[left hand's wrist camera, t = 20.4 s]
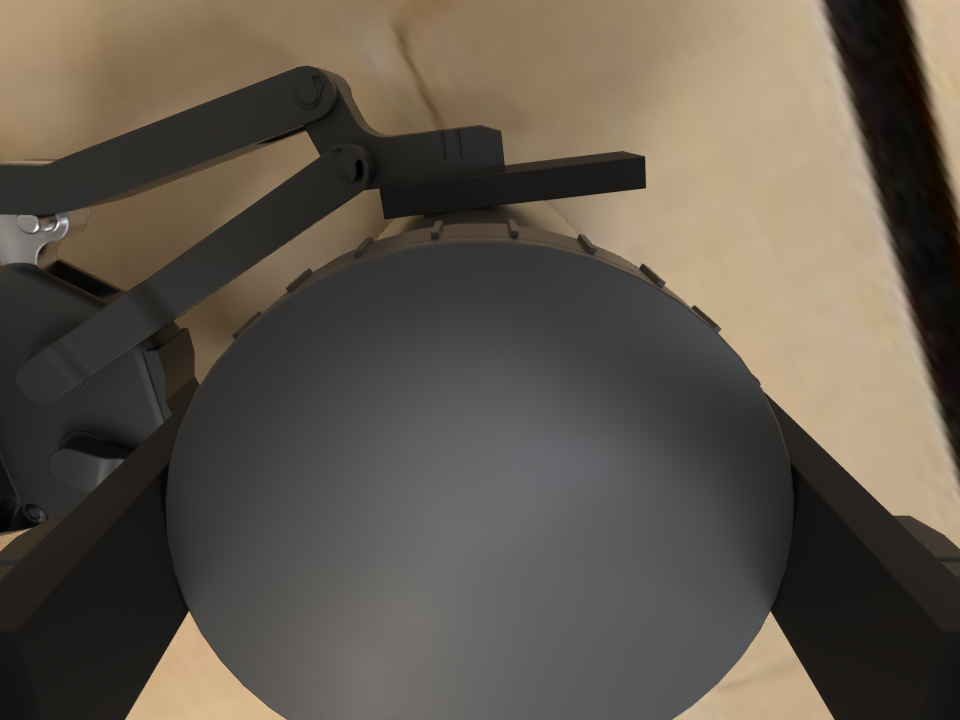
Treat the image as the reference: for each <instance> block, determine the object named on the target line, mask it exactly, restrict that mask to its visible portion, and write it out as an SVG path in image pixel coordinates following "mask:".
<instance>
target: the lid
mask: <svg viewBox="0 0 960 720" xmlns="http://www.w3.org/2000/svg"><path fill="white" fill-rule="evenodd" d="M665 283H666V282H665V281H663V280H662V279H661V278H660V277H659V276H658V275H657V274H656V273H654V272H653V271H652V270H651V269H650V268H649V267H648V266H646V265H644V264H642V265H641V266H640V268H639V267H637V266H635V265H633V264H632V263H630V262H628V261H627V260H625V259H623V258H622V257H620V256H618V255H616V254H614V253H611V252H609V251H607V250H604V249H602V248H599V247H597V246H595V245H593V244H592V243H591V242H590V241H589V240H588V239H587V238H586V236H584V235H581V234H579V235H578V238H573V237H569V236H565V235H562V234H558V233H554V232H550V231H547V230H543V229H538V228H530V227H522V226H517V225H516V222H515V220H510V219H509V220H508V225H506V224H452V225H445V226H443V224H442V220H441V221H435V223H434V226H433V227H430V228H423V229H416V230H412V231H409V232H405V233H402V234H398V235H394V236H391V237H387V238H384V239H380V240H376V241H373V239H372V237H370V238H368V239H366V240H365V241H364V242H363V243H362V244H361V245H360V246H359V247H358V248H357V249H356V250H353V251H351V252H349V253H346V254H344V255H342V256H339V257H338V258H336V259H334V260H333V261H331V262H329V263H328V264H326V265H325V266H323V267H321V268H320V269H318V270H316V271H315V272H313V273H312V271H311V270H310V269H308V270H306V271H305V272H303V273H302V274H301V275H300V276H299V277H298V278H297V279H295V280H294V281H293V282H292V283H291V284H290V285H289V286H288V287H286V290H287V291H288V292H287V293H285V294H284V295H283V296H282V297H281V298H279V299H278V300H277V301H276V302H275V303H274V304H272V305H271V306H270V307H269V308H268V309H267V310H266V311H265V312H264V313H260V312H258V313H257V314H255V315H254V316H253V317H252V318H251V319H250V320H249V321H247V322H246V323H245V324H244V325H243V326H242V327H241V328H240V329H238V330H237V331H236V332H235V333H234V334H233V336H232V337H233V338H234V339H236V340H235V341H234V342H233V343H232V344H231V345H230V346H229V347H228V349H227V350H226V351H225V352H224V353H223V354H222V355H221V356H220V357H219V359H218V360H217V361H216V362H215V364H214V365H213V367H212V369H211V370H210V372H209V373H208V375H207V376H206V378H205V379H204V381H203V382H202V383H201V384H200V385H199V386H198V387H197V389H196V391H195V395H194V397H193V399H192V401H191V403H190V405H189V408H188V410H187V412H186V414H185V416H184V419H183V421H182V423H181V425H180V427H179V430H178V434H177V437H176V441H175V445H174V448H173V452H172V456H171V459H170V463H169V469H168V478H167V487H166V496H165V513H166V534H167V539H168V545H169V550H170V555H171V560H172V565H173V570H174V574H175V576H176V579H177V582H178V585H179V587H180V590H181V593H182V596H183V599H184V601H185V604H186V606H187V608H188V609H189V611H190V613H191V615H192V617H193V619H194V621H195V623H196V625H197V626H198V628H199V630H200V632H201V634H202V635H203V637H204V638H205V639H206V641H207V642H208V644H209V645H210V646H211V648H212V649H213V651H214V652H215V653H216V655H217V656H218V658H219V659H220V660H221V662H222V663H223V664H224V665H225V666H226V667H227V668H228V669H229V670H230V671H231V672H232V673H233V675H234V676H235V677H236V678H237V679H238V680H239V681H240V682H241V683H242V684H243V685H244V686H245V687H246V688H247V689H248V690H249V691H251V692H252V693H253V694H254V695H255V696H256V697H258V698H259V699H260V700H261V701H262V702H263V703H265V704H266V705H267V706H268V707H269V708H271V709H272V710H274V711H275V712H277V713H278V714H280V715H281V716H283V717H284V718H285V719H287V720H672V719H674V718H675V717H677V716H678V715H680V714H681V713H683V712H684V711H685V710H687V709H688V708H690V707H691V706H693V705H694V704H695V703H696V702H697V701H698V700H699V699H701V698H702V697H703V696H704V695H705V694H706V693H708V692H709V691H710V690H711V689H712V688H713V687H714V686H716V685H717V684H718V683H719V682H720V681H721V679H722V678H723V677H724V676H725V675H726V674H727V673H728V672H729V671H730V669H731V668H732V667H733V666H734V665H735V664H736V663H737V662H738V661H739V660H740V658H741V657H742V656H743V654H744V653H745V651H746V650H747V648H748V647H749V645H750V644H751V643H752V641H753V640H754V638H755V637H756V635H757V634H758V633H759V631H760V629H761V628H762V626H763V624H764V622H765V620H766V618H767V616H768V614H769V612H770V610H771V608H772V606H773V604H774V602H775V600H776V598H777V595H778V592H779V589H780V586H781V583H782V580H783V577H784V574H785V571H786V567H787V562H788V556H789V551H790V546H791V541H792V536H793V527H794V490H793V482H792V474H791V466H790V460H789V456H788V453H787V450H786V446H785V443H784V439H783V436H782V432H781V429H780V425H779V423H778V421H777V419H776V417H775V415H774V413H773V411H772V408H771V406H770V404H769V402H768V400H767V398H766V396H765V394H764V392H763V390H762V388H761V387H760V385H761V384H760V382H759V380H758V379H757V378H756V377H755V376H754V375H753V374H752V373H751V372H750V371H749V369H748V368H747V366H746V365H745V363H744V362H743V360H742V359H741V357H740V356H739V355H738V354H737V353H736V352H735V351H734V350H733V349H732V348H731V347H730V346H729V344H728V343H727V342H726V341H725V340H724V339H723V338H722V337H721V336H720V335H719V334H718V332H719V331H720V330H721V328H720V327H719V326H718V325H717V324H716V323H715V322H714V321H712V320H711V319H710V318H709V317H708V316H707V315H706V314H704V313H703V312H702V311H701V310H700V309H699V308H697V307H696V306H695V305H694V306H693V307H692V308H691V307H689V306H688V305H687V304H686V303H685V302H684V301H683V300H682V299H681V298H679V297H678V296H677V295H676V294H674V293H673V292H672V291H671V290H669V289H668V288H667V287H666V286H664V285H665Z"/></svg>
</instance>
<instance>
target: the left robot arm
mask: <svg viewBox="0 0 960 720" xmlns="http://www.w3.org/2000/svg"><path fill="white" fill-rule="evenodd" d="M764 394H765V396H766V398H767V400H768V402H769V404H770V406H771V408H772V411H773V413H774V415H775V417H776V419H777V421H778V423H779V425H780V429H781V432H782V436H783V439H784V443H785V446H786V450H787V453H788V456H789V460H790V466H791V474H792V482H793V490H794V527H793V536H792V541H791V546H790V551H789V556H788V562H787V567H786V571H785V574H784V577H783V580H782V583H781V586H780V589H779V592H778V595H777V598H776V600H775V602H774V604H773V606H772V608H771V610H770V611H771V613H772V614H773V616H774V618H775V619H776V621H777V623H778V624H779V626H780V628H781V630H782V631H783V633H784V635H785V636H786V638H787V640H788V641H789V643H790V645H791V646H792V648H793V650H794V652H795V653H796V655H797V657H798V658H799V660H800V662H801V663H802V665H803V667H804V669H805V670H806V672H807V674H808V675H809V677H810V679H811V680H812V682H813V684H814V686H815V687H816V689H817V691H818V692H819V694H820V696H821V697H822V699H823V701H824V702H825V704H826V706H827V708H828V709H829V711H830V713H831V714H832V716H833V718H834V719H835V720H960V549H959V548H958V547H957V546H956V545H955V544H954V543H952V542H951V541H950V540H949V539H948V538H947V537H946V536H945V535H943V534H941V533H940V532H938V531H936V530H934V529H932V528H931V527H929V526H927V525H925V524H923V523H922V522H920V521H918V520H916V519H915V518H913V517H911V516H892V515H891V514H890V513H889V512H888V511H887V510H886V509H885V508H884V507H883V506H882V505H881V504H880V503H879V502H878V501H877V500H876V499H875V498H874V497H873V496H872V495H871V494H870V493H869V492H868V491H867V490H866V489H864V488H863V487H862V486H861V485H860V484H859V483H858V482H857V481H856V480H855V479H854V478H853V477H852V476H851V475H850V474H849V473H848V472H847V471H846V470H845V469H844V468H843V467H842V466H841V465H840V464H839V463H837V462H836V461H835V460H834V459H833V458H832V457H831V456H830V455H829V454H828V453H827V452H826V451H825V450H824V449H823V448H822V447H821V446H820V445H819V444H818V443H817V442H816V441H815V440H814V439H813V438H812V437H811V436H809V435H808V434H807V433H806V432H805V431H804V430H803V429H802V428H801V427H800V426H799V425H798V424H797V423H796V422H795V421H794V420H793V419H792V418H791V417H790V416H789V415H788V414H787V413H786V412H785V411H784V410H783V409H781V408H780V407H779V406H778V405H777V404H776V403H775V402H774V401H773V400H772V399H771V398H770V397H769V396H768V395H767V394H766V393H765V392H764ZM194 395H195V393H194V394H193V395H192V396H190V397H189V398H188V399H187V400H186V401H185V402H184V403H183V404H182V405H181V406H180V407H179V408H178V409H177V410H176V411H175V412H174V413H173V414H172V415H171V416H170V417H169V418H168V419H167V420H166V421H165V422H164V423H162V424H161V425H160V426H159V427H158V428H157V429H156V430H155V431H154V432H153V433H152V434H151V435H150V436H149V437H148V438H147V439H146V440H145V441H144V442H143V443H142V444H141V445H140V446H139V447H138V448H137V449H136V450H134V451H133V452H132V453H131V454H130V455H129V456H128V457H127V458H126V459H125V460H124V461H123V462H122V463H121V464H120V465H119V466H118V467H117V468H116V469H115V470H114V471H113V472H112V473H111V474H110V475H109V476H107V477H106V478H105V479H104V480H103V481H102V482H101V483H100V484H99V485H98V486H97V487H96V488H95V489H94V490H93V491H92V492H91V493H90V494H89V495H88V496H87V497H86V498H85V499H84V500H83V501H82V502H81V503H79V504H78V505H77V506H76V507H75V508H74V509H73V510H72V511H71V512H70V513H69V514H68V515H67V516H66V517H65V518H50V519H48V520H46V521H44V522H42V523H41V524H39V525H37V526H35V527H34V528H32V529H30V530H28V531H27V532H25V533H23V534H21V535H19V536H18V537H16V538H15V539H14V540H13V541H11V542H10V543H9V544H8V545H7V546H6V547H5V548H4V549H3V550H2V551H0V720H125V719H126V717H127V715H128V714H129V712H130V710H131V709H132V707H133V705H134V703H135V702H136V700H137V698H138V697H139V695H140V693H141V692H142V690H143V688H144V686H145V685H146V683H147V681H148V680H149V678H150V676H151V675H152V673H153V671H154V669H155V668H156V666H157V664H158V663H159V661H160V659H161V658H162V656H163V654H164V653H165V651H166V649H167V647H168V646H169V644H170V642H171V641H172V639H173V637H174V636H175V634H176V632H177V630H178V629H179V627H180V625H181V624H182V622H183V620H184V619H185V617H186V615H187V613H188V612H189V609H188V608H187V606H186V604H185V601H184V599H183V596H182V593H181V590H180V587H179V585H178V582H177V579H176V576H175V574H174V570H173V565H172V560H171V555H170V550H169V545H168V539H167V534H166V513H165V496H166V487H167V478H168V469H169V463H170V459H171V456H172V452H173V448H174V445H175V441H176V437H177V434H178V430H179V427H180V425H181V423H182V421H183V419H184V416H185V414H186V412H187V410H188V408H189V405H190V403H191V401H192V399H193V397H194Z"/></svg>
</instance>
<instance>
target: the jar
mask: <svg viewBox="0 0 960 720" xmlns="http://www.w3.org/2000/svg"><path fill="white" fill-rule="evenodd" d="M509 219H510V220H515V222H516V225H517V226H522V227H530V228H538V229H543V230H547V231H550V232H554V233H558V234H562V235H565V236H569V237H573V238H578V235H579V234H578V233H577V232H576V230H575V229H574V228H573V227H572V226H571V225H570V223H569V222H568V221H567V220H566V219H565V218H564V217H563V215H561V214H560V213H559V212H558V211H557V210H556V209H554V208H553V207H552V206H551V205H550V204H548V203H547V202H545V201H535V202H526V203H518V204H509V205H501V206H493V207H484V208H476V209H468V210H459V211H451V212H443V213H434V214H426V215H417V216H409V217H401V218H394V219H393V220H392V222H391V223H390V224H389V225H388V226H387V227H386V229H385V230H384V231H383V232H382V233H381V235H380V236H379V237H378V238H377V239H376V240H380V239H384V238H387V237H391V236H394V235H398V234H402V233H405V232H409V231H412V230H416V229H423V228H430V227H433V226H434V223H435V221H441V220H442V224H443V226H445V225H452V224H506V225H508V220H509ZM376 240H375V241H376Z"/></svg>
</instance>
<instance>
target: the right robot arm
mask: <svg viewBox="0 0 960 720" xmlns="http://www.w3.org/2000/svg"><path fill="white" fill-rule="evenodd" d="M305 131H307V133H308V134H309V136H310V138H311V140H312V141H313V143H314V145H315V147H316V149H317V150H318V152H319V154H320V156H321V157H319V158H318V159H316V160H315V161H314V162H312V163H311V164H309V165H308V166H306V167H305V168H304V169H302V170H301V171H299V172H298V173H297V174H295V175H294V176H292V177H291V178H290V179H288V180H287V181H285V182H284V183H282V184H281V185H280V186H278V187H277V188H275V189H274V190H273V191H271V192H270V193H268V194H267V195H265V196H264V197H263V198H261V199H260V200H258V201H257V202H256V203H254V204H253V205H251V206H250V207H248V208H247V209H246V210H244V211H243V212H241V213H240V214H239V215H237V216H236V217H234V218H233V219H232V220H230V221H229V222H227V223H226V224H224V225H223V226H222V227H220V228H219V229H217V230H216V231H215V232H213V233H212V234H210V235H209V236H207V237H206V238H205V239H203V240H202V241H200V242H199V243H198V244H196V245H195V246H193V247H192V248H191V249H189V250H188V251H186V252H185V253H183V254H182V255H181V256H179V257H178V258H176V259H175V260H174V261H172V262H171V263H169V264H168V265H166V266H165V267H164V268H162V269H161V270H159V271H158V272H157V273H155V274H154V275H152V276H151V277H149V278H148V279H147V280H145V281H143V282H142V283H140V284H139V285H137V286H135V287H134V288H132V289H130V290H129V291H127V292H126V291H124V290H122V289H120V288H118V287H116V286H114V285H112V284H110V283H108V282H106V281H104V280H102V279H100V278H98V277H96V276H94V275H92V274H90V273H88V272H86V271H84V270H82V269H80V268H78V267H76V266H73V265H71V264H69V263H67V262H65V261H63V260H61V259H58V258H57V250H58V246H59V244H60V243H61V241H62V240H64V239H65V238H67V237H71V236H74V235H78V234H79V233H81V232H82V231H83V230H84V229H85V228H86V226H87V222H88V219H89V217H90V215H91V210H90V208H89V207H91V206H95V205H99V204H104V203H108V202H113V201H117V200H121V199H124V198H127V197H130V196H134V195H136V194H139V193H142V192H144V191H147V190H150V189H152V188H155V187H158V186H160V185H163V184H166V183H168V182H171V181H174V180H176V179H179V178H182V177H184V176H187V175H190V174H192V173H195V172H198V171H200V170H203V169H206V168H209V167H211V166H214V165H217V164H219V163H222V162H225V161H227V160H230V159H233V158H235V157H238V156H241V155H243V154H246V153H249V152H251V151H254V150H257V149H259V148H262V147H265V146H267V145H270V144H273V143H275V142H278V141H281V140H283V139H286V138H289V137H291V136H294V135H297V134H300V133H302V132H305ZM378 188H380V195H381V201H382V207H383V213H384V219H392V218H401V217H409V216H417V215H426V214H434V213H443V212H451V211H459V210H468V209H476V208H484V207H493V206H501V205H509V204H518V203H526V202H535V201H543V200H551V199H560V198H568V197H576V196H585V195H593V194H602V193H610V192H618V191H627V190H635V189H643V188H646V172H645V156H641V155H637V154H632V153H628V152H624V151H620V152H611V153H603V154H595V155H587V156H579V157H570V158H562V159H554V160H546V161H538V162H529V163H521V164H513V165H504V155H503V145H502V135H501V131H500V130H496V129H493V128H489V127H486V126H482V125H476V126H468V127H460V128H452V129H444V130H436V131H428V132H420V133H412V134H404V135H396V136H387V135H383V134H380V133H378V132H376V131H374V130H373V129H372V128H371V127H370V126H369V125H368V124H367V123H366V121H365V120H364V118H363V117H362V115H361V113H360V111H359V109H358V107H357V105H356V103H355V101H354V100H353V98H352V93H351V89H350V87H349V85H348V84H347V82H346V80H344V79H343V78H342V77H341V76H339V75H337V74H334V73H331V72H329V71H326V70H322V69H319V68H314V67H311V66H302V67H297V68H295V69H292V70H289V71H287V72H284V73H282V74H279V75H276V76H274V77H271V78H269V79H266V80H263V81H261V82H258V83H256V84H253V85H250V86H248V87H245V88H243V89H240V90H238V91H235V92H232V93H230V94H227V95H225V96H222V97H219V98H217V99H214V100H212V101H209V102H206V103H204V104H201V105H199V106H196V107H194V108H191V109H188V110H186V111H183V112H181V113H178V114H175V115H173V116H170V117H168V118H165V119H162V120H160V121H157V122H155V123H152V124H149V125H147V126H144V127H142V128H139V129H137V130H134V131H131V132H129V133H126V134H124V135H121V136H118V137H116V138H113V139H111V140H108V141H105V142H103V143H100V144H98V145H95V146H92V147H90V148H87V149H85V150H82V151H80V152H77V153H74V154H72V155H69V156H67V157H64V158H61V159H29V160H18V161H7V162H0V262H1V266H0V536H2V535H7V534H11V533H15V532H19V531H23V530H27V529H31V528H34V527H35V526H37V525H39V524H41V523H42V522H44V521H46V520H48V519H50V518H65V517H66V516H67V515H68V514H69V513H70V512H71V511H72V510H73V509H74V508H75V507H76V506H77V505H78V504H79V503H81V502H82V501H83V500H84V499H85V498H86V497H87V496H88V495H89V494H90V493H91V492H92V491H93V490H94V489H95V488H96V487H97V486H98V485H99V484H100V483H101V482H102V481H103V480H104V479H105V478H106V477H107V476H109V475H110V474H111V473H112V472H113V471H114V470H115V469H116V468H117V467H118V466H119V465H120V464H121V463H122V462H123V461H124V460H125V459H126V458H127V457H128V456H129V455H130V454H131V453H132V452H133V451H134V450H136V449H137V448H138V447H139V446H140V445H141V444H142V443H143V442H144V441H145V440H146V439H147V438H148V437H149V436H150V435H151V434H152V433H153V432H154V431H155V430H156V429H157V428H158V427H159V426H160V425H161V424H162V423H164V422H165V421H166V420H167V419H168V418H169V417H170V416H171V415H172V414H173V413H174V412H175V411H176V410H177V409H178V408H179V407H180V406H181V405H182V404H183V403H184V402H185V401H186V400H187V399H188V398H189V397H190V396H192V395H193V394H194V393H195V391H196V389H197V387H198V386H199V385H200V384H199V383H198V381H197V379H196V378H195V374H194V348H193V345H192V341H191V338H190V334H189V331H188V328H182V329H180V328H179V327H178V325H177V324H176V323H175V321H174V320H175V319H177V318H178V317H180V316H181V315H183V314H184V313H186V312H187V311H189V310H190V309H191V308H193V307H194V306H196V305H197V304H199V303H200V302H202V301H203V300H205V299H206V298H208V297H209V296H210V295H212V294H213V293H215V292H216V291H218V290H219V289H220V288H222V287H223V286H225V285H226V284H228V283H229V282H231V281H232V280H234V279H235V278H237V277H238V276H239V275H241V274H242V273H244V272H245V271H247V270H248V269H250V268H251V267H253V266H254V265H256V264H257V263H258V262H260V261H261V260H263V259H264V258H266V257H267V256H269V255H270V254H272V253H273V252H275V251H276V250H277V249H279V248H280V247H282V246H283V245H285V244H286V243H288V242H289V241H291V240H292V239H294V238H295V237H296V236H298V235H299V234H301V233H302V232H304V231H305V230H307V229H308V228H310V227H311V226H312V225H314V224H315V223H317V222H318V221H320V220H321V219H323V218H324V217H326V216H327V215H329V214H330V213H331V212H333V211H334V210H336V209H337V208H339V207H340V206H342V205H343V204H345V203H346V202H348V201H349V200H350V199H352V198H353V197H355V196H356V195H358V194H359V193H361V192H362V191H364V190H369V189H378Z"/></svg>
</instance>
